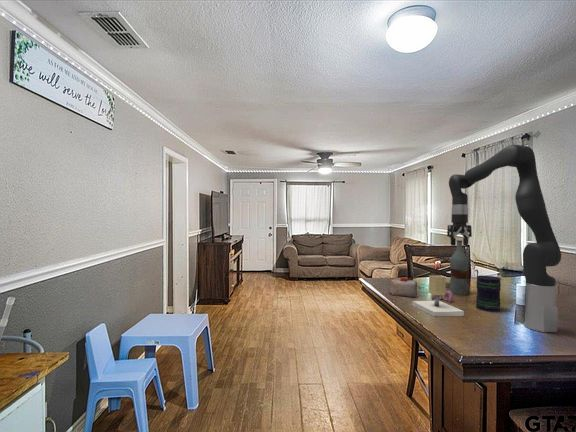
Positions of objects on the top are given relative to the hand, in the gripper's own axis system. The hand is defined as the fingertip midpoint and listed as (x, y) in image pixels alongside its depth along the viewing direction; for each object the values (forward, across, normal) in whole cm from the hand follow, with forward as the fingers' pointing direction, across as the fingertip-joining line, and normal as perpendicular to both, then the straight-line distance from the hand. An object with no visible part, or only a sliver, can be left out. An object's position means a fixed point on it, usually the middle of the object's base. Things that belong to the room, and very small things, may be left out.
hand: (459, 245), depth 169 cm
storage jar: (+29, +1, -15) cm, 32 cm away
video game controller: (+29, -6, +4) cm, 30 cm away
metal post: (+27, -24, -9) cm, 37 cm away
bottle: (+28, +15, +14) cm, 35 cm away
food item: (+29, -18, +20) cm, 39 cm away
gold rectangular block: (+21, -24, -9) cm, 33 cm away
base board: (+29, -24, -9) cm, 38 cm away
